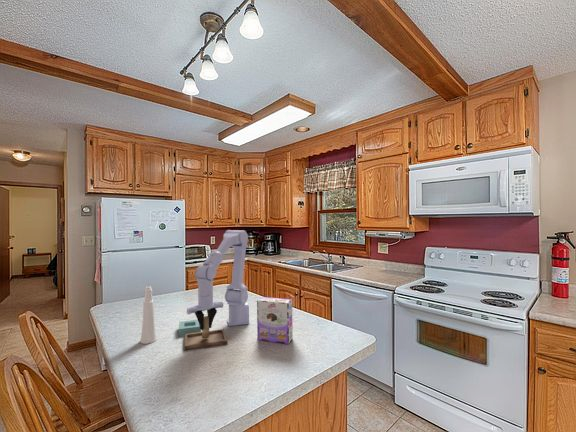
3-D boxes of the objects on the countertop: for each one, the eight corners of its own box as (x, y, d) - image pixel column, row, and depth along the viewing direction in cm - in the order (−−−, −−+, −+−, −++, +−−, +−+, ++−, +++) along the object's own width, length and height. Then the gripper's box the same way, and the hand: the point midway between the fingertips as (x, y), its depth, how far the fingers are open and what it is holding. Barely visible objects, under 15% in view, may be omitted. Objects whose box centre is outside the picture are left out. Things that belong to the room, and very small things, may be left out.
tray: (224, 332, 123) (224, 328, 123) (227, 344, 112) (227, 340, 112) (184, 337, 118) (184, 333, 118) (184, 350, 107) (184, 346, 107)
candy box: (293, 338, 117) (293, 299, 117) (288, 344, 111) (288, 303, 112) (262, 334, 122) (262, 296, 122) (256, 340, 116) (256, 299, 116)
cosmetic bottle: (138, 344, 112) (138, 289, 112) (142, 338, 118) (142, 285, 118) (155, 343, 113) (155, 288, 113) (157, 336, 119) (157, 284, 119)
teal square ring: (200, 325, 131) (200, 319, 131) (201, 333, 123) (200, 326, 123) (179, 328, 128) (179, 321, 128) (178, 336, 120) (178, 329, 120)
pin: (207, 335, 117) (207, 315, 117) (210, 337, 115) (210, 317, 115) (200, 336, 115) (200, 317, 115) (203, 339, 113) (203, 319, 113)
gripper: (218, 289, 123) (218, 321, 123) (184, 295, 114) (184, 329, 114) (225, 293, 117) (225, 326, 117) (189, 299, 108) (189, 335, 108)
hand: (205, 328), depth 115 cm, fingers closed on pin, 3 cm apart
